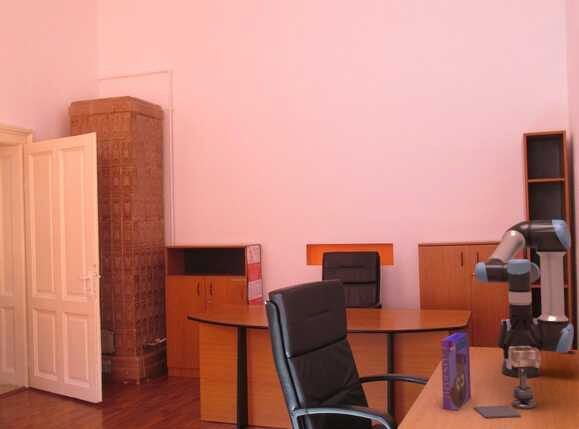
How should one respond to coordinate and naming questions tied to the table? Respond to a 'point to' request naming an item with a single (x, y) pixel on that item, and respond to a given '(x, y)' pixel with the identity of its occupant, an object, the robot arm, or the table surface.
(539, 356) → the square frame
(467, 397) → the cereal box
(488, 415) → the rubber mat
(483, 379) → the table surface
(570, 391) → the table surface
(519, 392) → the steel stand
